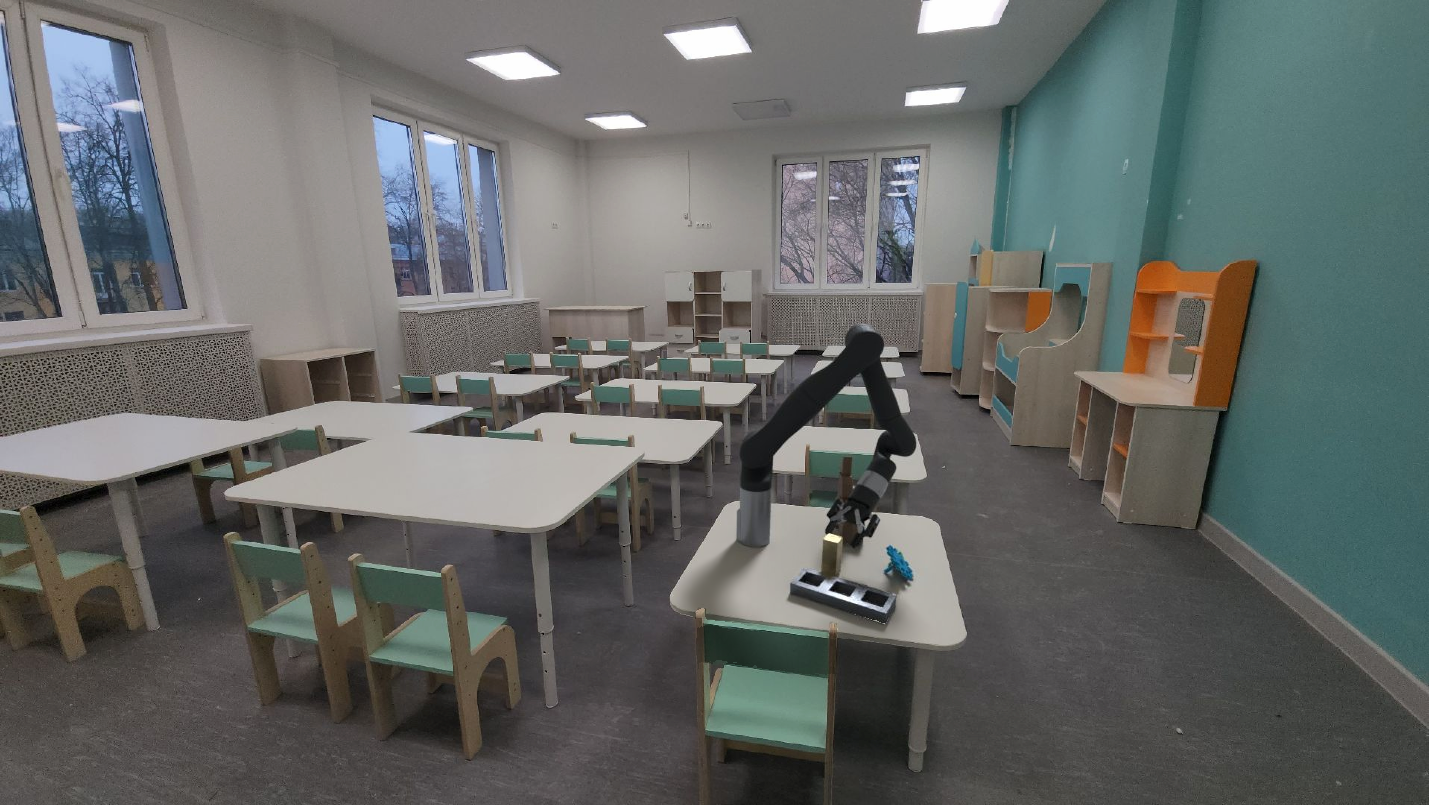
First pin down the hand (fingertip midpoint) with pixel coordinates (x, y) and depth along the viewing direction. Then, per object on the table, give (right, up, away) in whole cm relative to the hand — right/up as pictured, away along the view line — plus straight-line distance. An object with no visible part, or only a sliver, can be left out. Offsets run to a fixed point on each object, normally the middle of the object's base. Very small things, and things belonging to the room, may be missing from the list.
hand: (839, 540), depth 155 cm
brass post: (-2, -9, 0) cm, 9 cm away
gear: (+16, -9, 0) cm, 18 cm away
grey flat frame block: (-2, -12, -12) cm, 17 cm away
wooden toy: (+8, -3, +23) cm, 25 cm away
